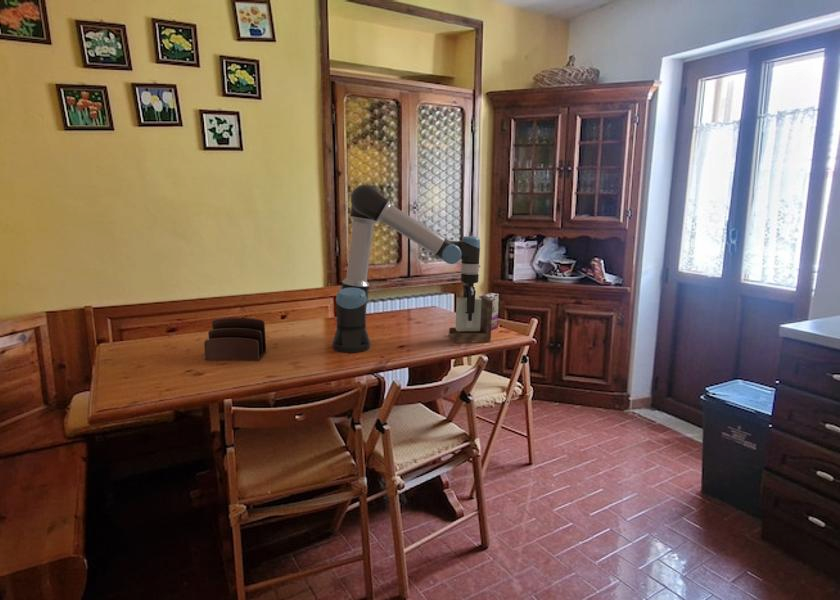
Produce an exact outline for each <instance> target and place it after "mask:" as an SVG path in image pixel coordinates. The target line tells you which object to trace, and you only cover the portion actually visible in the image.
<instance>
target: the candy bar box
mask: <svg viewBox="0 0 840 600" xmlns="http://www.w3.org/2000/svg"><path fill="white" fill-rule="evenodd" d="M482 296H487V297H489V298H490V299H491V300H492V301H493V305H492V324H491V331H493V330H495V329H498V328H499V327H498V325H499V302H500V294H499V293H495V292H494V293H493V292H489V293H486V294H483V295H479V296H478V297H479V298H481V299H482Z"/></svg>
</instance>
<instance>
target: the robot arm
mask: <svg viewBox="0 0 840 600" xmlns="http://www.w3.org/2000/svg"><path fill="white" fill-rule="evenodd" d="M350 203H351V207H350V216H349V218H351V220H352V221H353V222H352V229H351V230H352V231H351V236H350V237H351V238H350V245H349V251H348V252H349V253H348V254H349V255H348V261H347V270H346V277H345V278H344V279H343V280H342V281H341V287H340V289H339V290H338V291H337V292H336V297H335V302H336V331H335V333H334V336H333V339H332V349H333V350H334V351H337V352H339V353H348V354H349V353H351V354H352V353H360V352H365V351H367V350H369V349H371V340H370V337H369V334H368V331H367V330H368V329H367V323H366V322H367V305H368V303H369V292H370V283H369V282H368V272H369V265H370V259H371V258H370V256H371V248H372V242H373V241H372V240H373V235H374V234H373V233H374V227H375V224H376V223H378V222H381V223H383V224H385V225H386V226H387V227H389V228H391V229H393V230H394V231H396V232H398V233H399V234H401V235H402V236H404V237H406V238H407V239H409V240H410V241H412V242H413V243H416V244H417V245H419V246H420V247H421V248H423V249H425V250H426V251H428V252H430V253H431V254H432V255H433V258H434V259H436V260H437V259H438V260H443V262H445V263H446V264H449V265H455V264H457V263H458V262H459V261H460V260H461V264H460V265H461V266H460V272H461V274H460V281H461V282H460V283H463V284H464V285H462V289H463V290H462V291H463V293H462V294H463V295H462V298H467V312H465V313H466V328H472V323H473V313H474V309H475V297H476V292H477V291H476V288H475V284H478V283H479V280H480V279H479V278H480V277H479V276H480V275H479V272H480V271H479V270H480V268H481V265H480V256H481V255H480V253H481V239H480V237H478V236H472V235H469V236H466V235H465V236H463V237H462V239H461V240H458V241H455V240H447V238H446V237H444V236H442V235H440V234H439V233H437V232H436V231H434V230H432V229H430V228H429V227H427V226H426V225H424V224H423V223H421V222H420V221H418V220H417V219H416V218H413V217H412V216H410V215H408V214H407V213H405V212H404V211H402V210H400V209H399V208H398V207H396V206H394V205H392V204H391V201H390V200H389V198H387V197H385V196H384V195H382V194H381V193H380V191H379V190H378V189H377V188H376V187H375V186H373V185H370V184H360V185H359V186H356V188H354V189H353V190H352V193H351V195H350Z"/></svg>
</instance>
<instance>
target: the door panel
mask: <svg viewBox="0 0 840 600" xmlns="http://www.w3.org/2000/svg"><path fill="white" fill-rule="evenodd" d="M481 300H482V299H481V298H479V296H478V297H476V296H475V309H474V313H473V323H472V328H466V313H465V312H467V298H463V297H456V308H455V327H456V330H457V331H480V322H481Z"/></svg>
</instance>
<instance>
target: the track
mask: <svg viewBox="0 0 840 600" xmlns="http://www.w3.org/2000/svg"><path fill="white" fill-rule="evenodd" d="M481 296H482V295H481ZM492 305H493V301H492V300H491V299H490V298H489V297H487V296H482V300H481V322H480V331H457V330H456V326H454V327H449V329H448V330H449V331H448V332H449V333H448V336H449V337H450V339H451V340H452V342H453V343H473V342H472V341H491V340H492V330H491V324H492ZM491 342H492V341H491Z"/></svg>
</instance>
